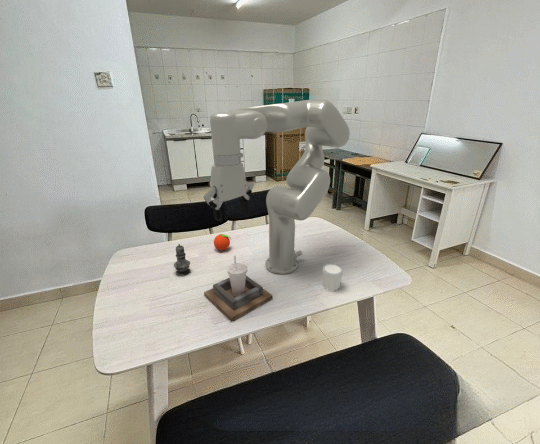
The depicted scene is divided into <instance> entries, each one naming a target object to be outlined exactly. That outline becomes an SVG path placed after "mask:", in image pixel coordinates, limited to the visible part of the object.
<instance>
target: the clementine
mask: <svg viewBox="0 0 540 444" xmlns="http://www.w3.org/2000/svg"><path fill="white" fill-rule="evenodd" d="M231 240H232V238H231V237H230V235H227V234H224V233H220V234H218V235H216V236H215V238H214V239H213V244H214V245H213V246H214V248H216V249H217V250H218V251H225V250H228V248H229V247H230V245H231Z"/></svg>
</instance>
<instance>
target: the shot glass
mask: <svg viewBox="0 0 540 444" xmlns="http://www.w3.org/2000/svg"><path fill="white" fill-rule="evenodd" d="M343 272H344V269H343V268H342V266H340V265H338V264H335V263H326V264H324V265H323V266H322V287H323V286H324V287H323V288H324V289H325V288H326V289H328V290H327V291H329V290H336V289H338V288H339V289H340V288H341V287H340V286H341V283H342V277H343V274H344V273H343ZM326 289H325V290H326ZM339 289H338V290H339ZM336 291H337V290H336Z"/></svg>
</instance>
